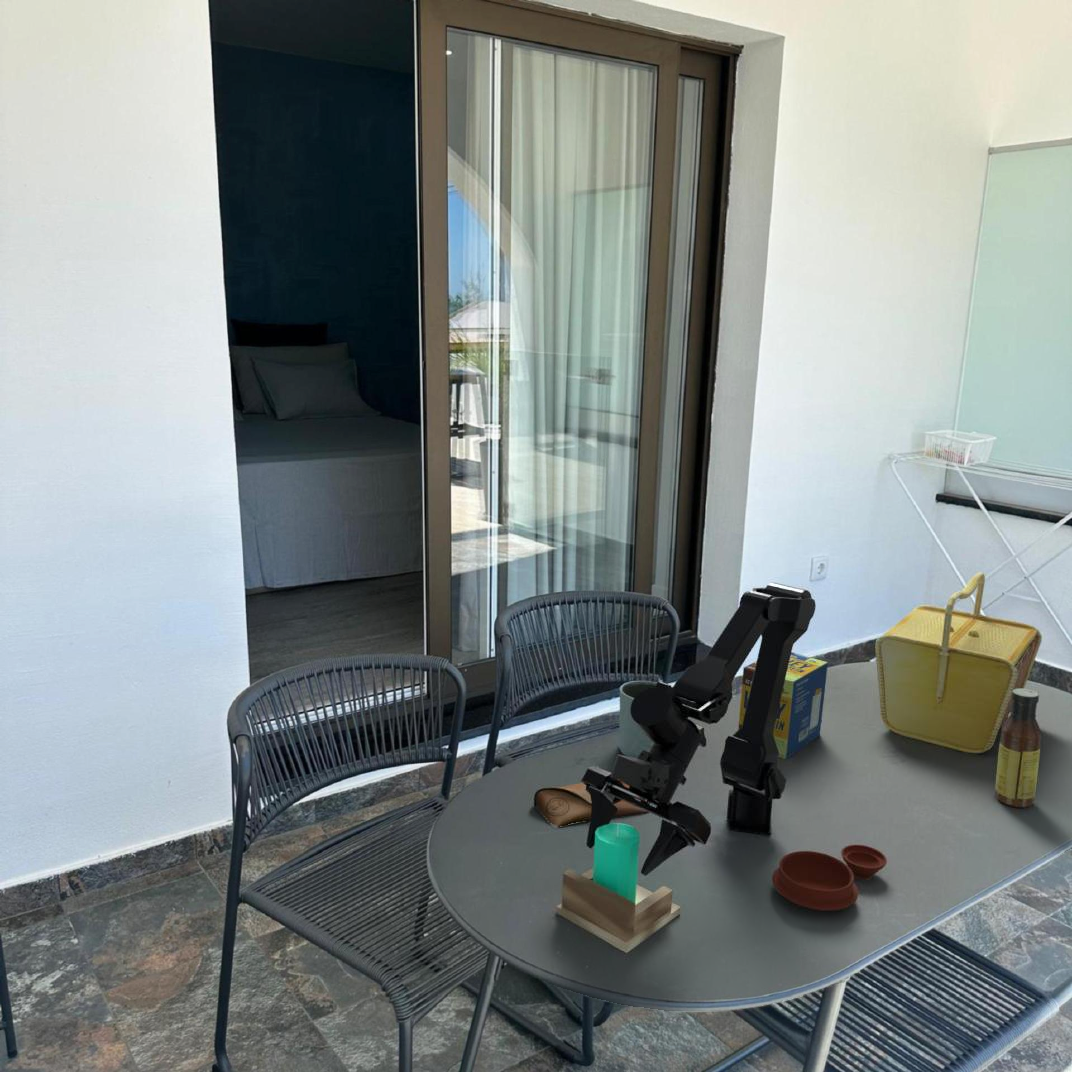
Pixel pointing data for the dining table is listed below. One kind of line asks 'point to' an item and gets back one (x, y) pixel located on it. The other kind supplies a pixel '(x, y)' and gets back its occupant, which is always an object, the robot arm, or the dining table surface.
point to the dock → (615, 910)
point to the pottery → (826, 876)
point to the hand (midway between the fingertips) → (615, 860)
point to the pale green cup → (630, 732)
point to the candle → (617, 859)
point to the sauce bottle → (1019, 751)
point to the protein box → (794, 702)
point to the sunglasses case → (573, 804)
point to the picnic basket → (953, 672)
